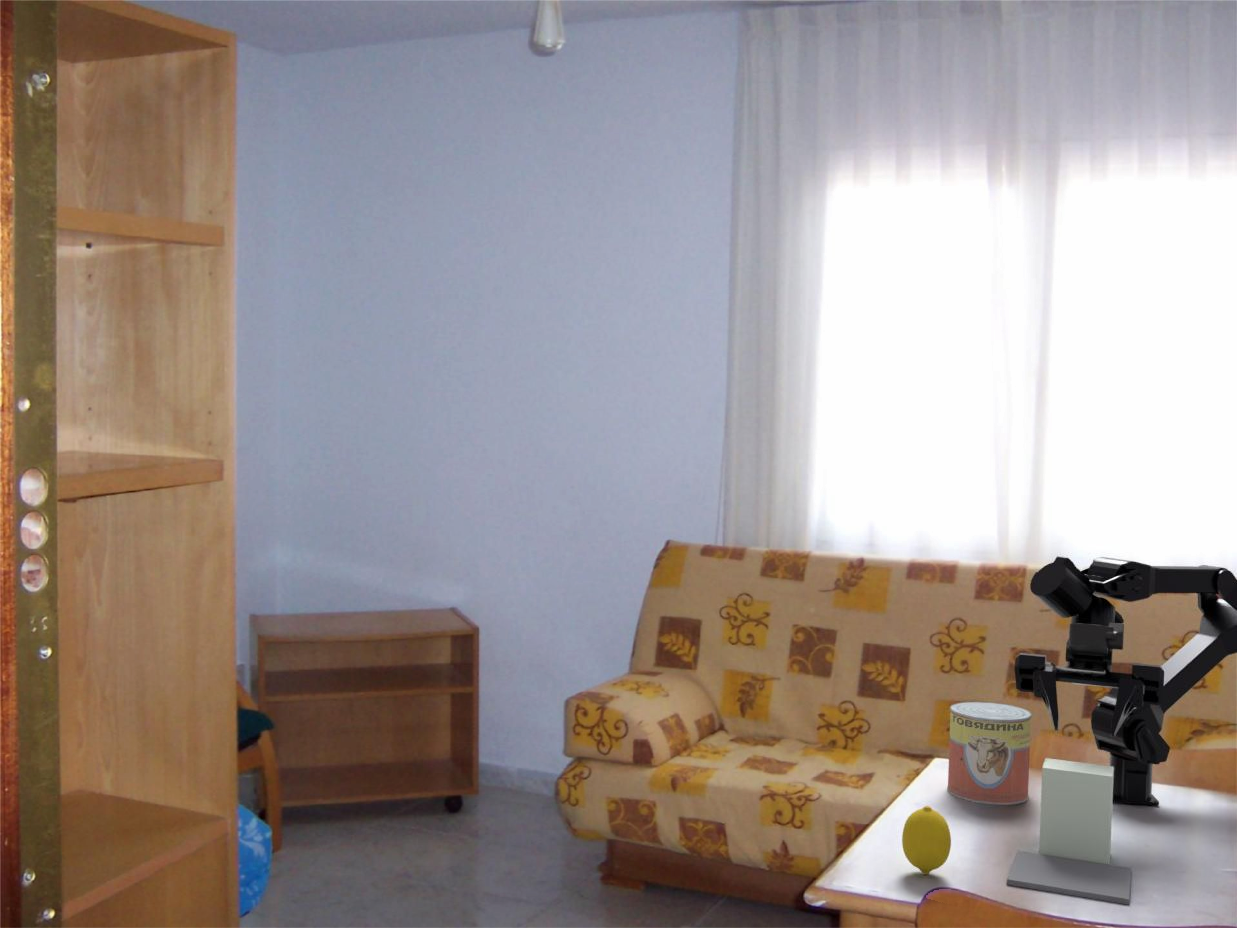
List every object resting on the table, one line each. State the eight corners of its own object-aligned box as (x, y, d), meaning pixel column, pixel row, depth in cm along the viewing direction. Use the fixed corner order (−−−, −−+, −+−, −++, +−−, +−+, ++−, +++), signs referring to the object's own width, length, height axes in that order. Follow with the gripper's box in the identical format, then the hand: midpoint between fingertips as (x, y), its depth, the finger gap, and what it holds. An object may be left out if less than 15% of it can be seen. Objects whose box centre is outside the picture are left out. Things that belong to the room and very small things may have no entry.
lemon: (941, 886, 142) (943, 816, 141) (894, 875, 145) (896, 807, 144) (955, 872, 146) (958, 804, 146) (910, 862, 149) (912, 796, 149)
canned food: (945, 799, 176) (948, 715, 175) (948, 778, 186) (951, 698, 186) (1029, 808, 172) (1032, 722, 172) (1027, 786, 183) (1030, 705, 183)
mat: (1017, 854, 153) (1017, 850, 153) (1131, 872, 148) (1131, 867, 148) (1006, 884, 143) (1006, 878, 143) (1128, 904, 138) (1129, 898, 138)
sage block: (1042, 843, 157) (1045, 757, 157) (1110, 854, 154) (1113, 766, 154) (1038, 856, 153) (1042, 767, 152) (1108, 867, 150) (1112, 776, 149)
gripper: (1018, 594, 171) (1006, 689, 161) (1166, 605, 163) (1163, 705, 154) (1022, 642, 178) (1011, 736, 169) (1164, 654, 171) (1161, 753, 161)
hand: (1084, 731), depth 163 cm, fingers open, 7 cm apart
